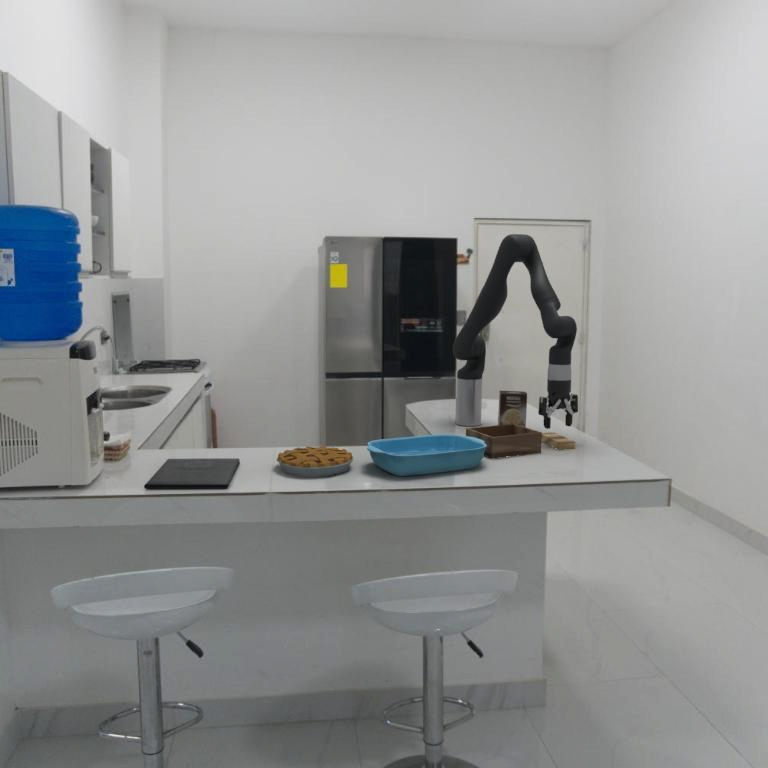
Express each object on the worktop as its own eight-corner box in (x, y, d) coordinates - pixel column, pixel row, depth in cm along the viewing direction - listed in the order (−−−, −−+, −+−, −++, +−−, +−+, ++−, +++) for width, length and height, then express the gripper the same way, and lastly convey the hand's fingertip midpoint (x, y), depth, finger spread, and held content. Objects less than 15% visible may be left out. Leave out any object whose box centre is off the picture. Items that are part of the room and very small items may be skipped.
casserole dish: (460, 451, 235) (460, 429, 233) (501, 468, 215) (501, 444, 214) (353, 464, 218) (353, 440, 217) (387, 483, 199) (387, 457, 198)
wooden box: (465, 448, 238) (466, 428, 237) (512, 442, 246) (513, 423, 245) (492, 458, 225) (492, 437, 224) (541, 452, 233) (541, 432, 232)
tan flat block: (539, 442, 249) (539, 433, 249) (553, 441, 251) (554, 432, 250) (559, 451, 236) (559, 442, 236) (574, 450, 237) (575, 441, 237)
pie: (367, 472, 210) (367, 455, 209) (297, 483, 198) (296, 465, 198) (331, 456, 228) (330, 440, 227) (264, 465, 217) (264, 448, 216)
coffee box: (498, 440, 250) (499, 393, 247) (497, 436, 256) (498, 390, 253) (525, 441, 249) (527, 393, 246) (524, 437, 255) (525, 390, 253)
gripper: (569, 375, 246) (567, 423, 249) (534, 377, 240) (533, 427, 242) (584, 377, 240) (582, 427, 242) (549, 380, 233) (547, 431, 236)
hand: (557, 427), depth 242 cm, fingers open, 8 cm apart
